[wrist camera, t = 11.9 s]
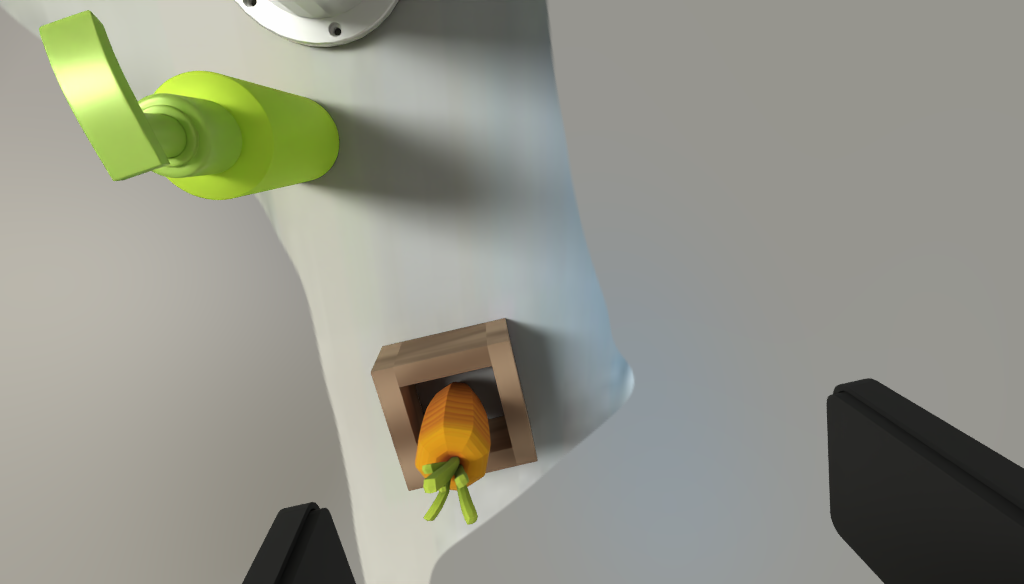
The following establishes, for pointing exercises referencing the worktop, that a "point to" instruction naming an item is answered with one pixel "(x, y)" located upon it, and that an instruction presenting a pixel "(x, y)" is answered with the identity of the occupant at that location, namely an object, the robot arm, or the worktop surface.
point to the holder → (446, 358)
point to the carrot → (453, 447)
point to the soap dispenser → (188, 121)
